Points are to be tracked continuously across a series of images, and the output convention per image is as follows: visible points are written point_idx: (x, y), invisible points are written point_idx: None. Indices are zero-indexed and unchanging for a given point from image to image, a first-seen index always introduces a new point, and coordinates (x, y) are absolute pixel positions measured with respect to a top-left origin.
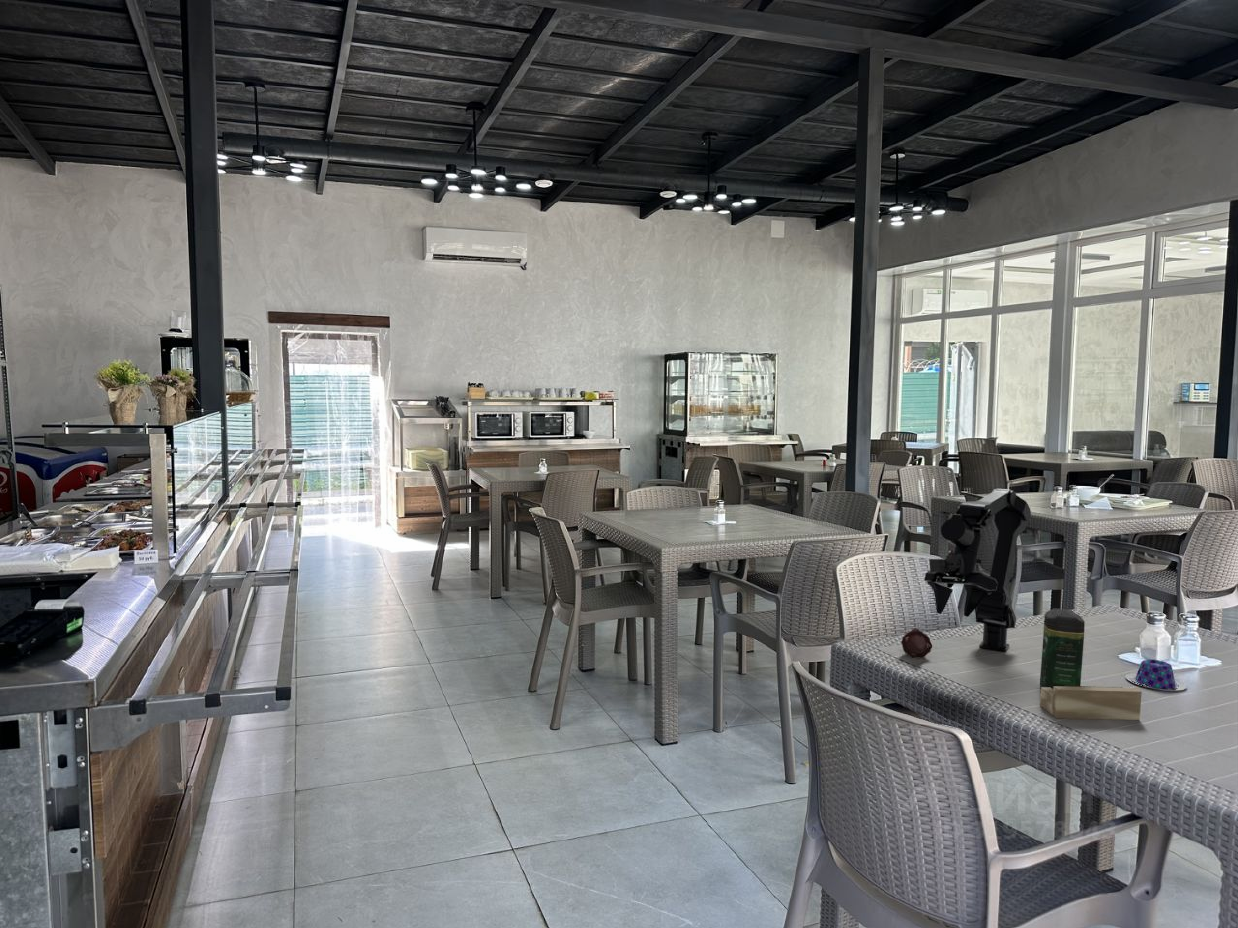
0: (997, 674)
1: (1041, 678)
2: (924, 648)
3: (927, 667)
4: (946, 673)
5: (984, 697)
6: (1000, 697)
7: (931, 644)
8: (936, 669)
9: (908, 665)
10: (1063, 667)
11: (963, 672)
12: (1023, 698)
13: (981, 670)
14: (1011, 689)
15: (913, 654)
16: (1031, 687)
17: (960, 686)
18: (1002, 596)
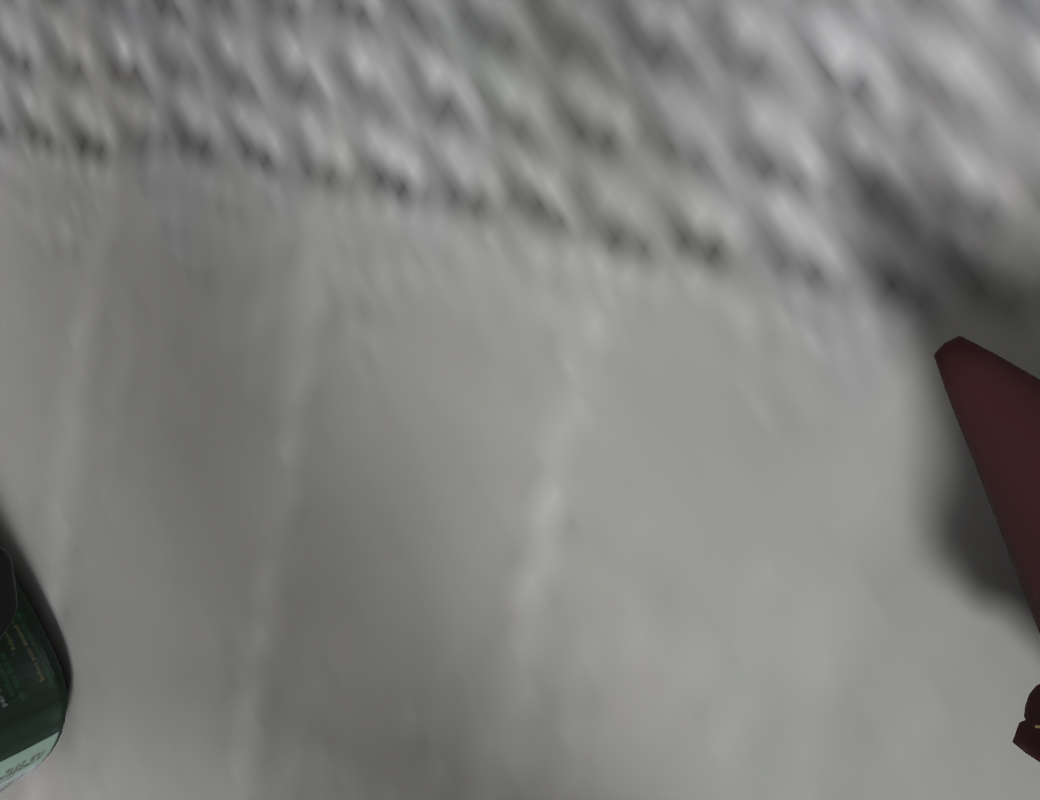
0: (356, 696)
1: None
2: (1008, 547)
3: (831, 355)
4: (606, 349)
5: (125, 80)
6: (77, 192)
7: (1029, 748)
8: (735, 377)
9: (1011, 231)
10: None
11: (536, 512)
12: (4, 320)
13: (481, 697)
14: (128, 431)
15: None
16: (90, 595)
17: (344, 136)
18: None
